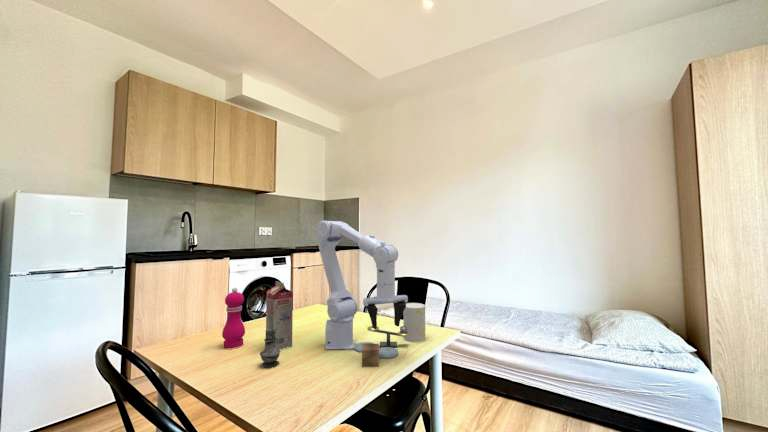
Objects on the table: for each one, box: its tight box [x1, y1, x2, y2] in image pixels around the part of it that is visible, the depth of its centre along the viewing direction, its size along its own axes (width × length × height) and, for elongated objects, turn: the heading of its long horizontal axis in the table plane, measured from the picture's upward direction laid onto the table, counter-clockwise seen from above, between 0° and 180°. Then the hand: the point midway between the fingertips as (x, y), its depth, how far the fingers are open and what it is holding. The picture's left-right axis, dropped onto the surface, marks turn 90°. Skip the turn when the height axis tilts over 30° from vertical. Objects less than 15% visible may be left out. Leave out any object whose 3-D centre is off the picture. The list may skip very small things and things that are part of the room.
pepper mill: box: [221, 287, 246, 349], centre depth 109 cm, size 7×7×20 cm
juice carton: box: [265, 281, 294, 350], centre depth 109 cm, size 7×7×22 cm
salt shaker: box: [259, 324, 282, 369], centre depth 93 cm, size 6×6×12 cm
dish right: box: [379, 347, 399, 359], centre depth 101 cm, size 8×8×1 cm
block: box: [361, 343, 380, 368], centre depth 94 cm, size 5×5×5 cm
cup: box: [402, 302, 426, 343], centre depth 116 cm, size 8×8×12 cm
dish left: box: [353, 341, 375, 354], centre depth 106 cm, size 8×8×1 cm
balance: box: [367, 325, 409, 349], centre depth 108 cm, size 15×4×6 cm, turn 92°
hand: (385, 326), depth 99 cm, fingers open, 7 cm apart
